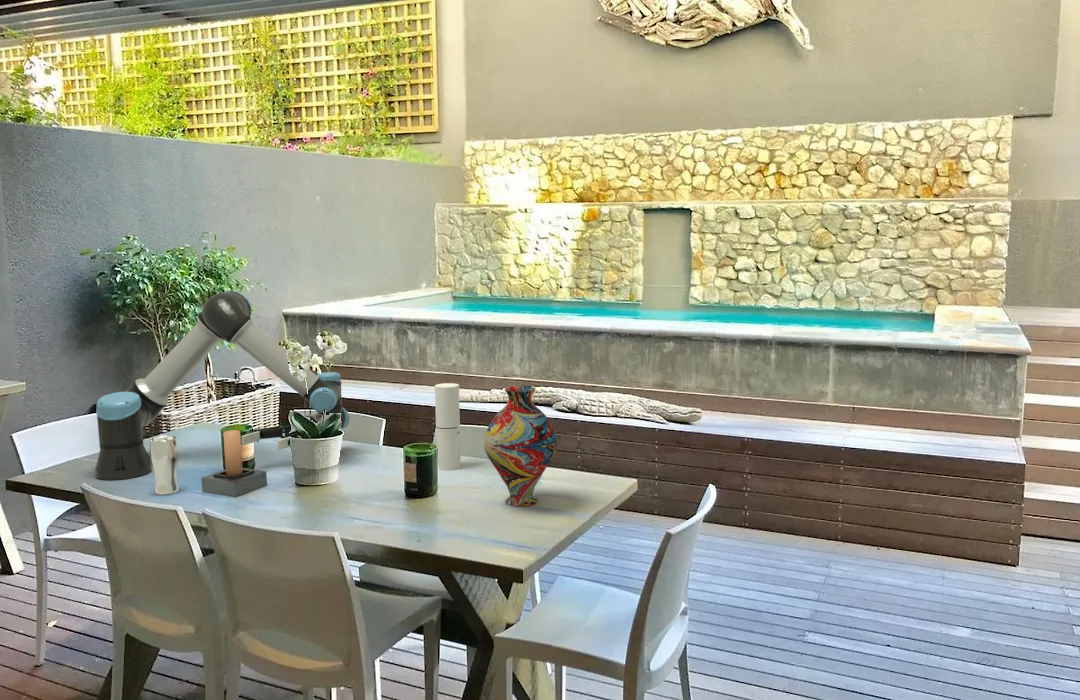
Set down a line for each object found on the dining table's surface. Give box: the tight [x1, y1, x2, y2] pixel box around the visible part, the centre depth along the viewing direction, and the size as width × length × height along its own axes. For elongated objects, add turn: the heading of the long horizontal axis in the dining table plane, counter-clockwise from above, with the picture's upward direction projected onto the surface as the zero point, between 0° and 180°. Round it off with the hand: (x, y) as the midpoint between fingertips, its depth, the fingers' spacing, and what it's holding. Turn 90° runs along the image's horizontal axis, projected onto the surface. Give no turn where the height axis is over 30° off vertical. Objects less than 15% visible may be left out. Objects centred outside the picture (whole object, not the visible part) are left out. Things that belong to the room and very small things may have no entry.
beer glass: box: [149, 435, 180, 496], centre depth 232 cm, size 7×7×15 cm
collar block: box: [201, 467, 268, 498], centre depth 235 cm, size 12×12×4 cm
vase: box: [483, 385, 558, 507], centre depth 220 cm, size 19×19×30 cm
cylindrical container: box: [434, 382, 462, 471], centre depth 254 cm, size 7×7×25 cm
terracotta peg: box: [223, 429, 243, 477], centre depth 234 cm, size 4×4×16 cm
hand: (260, 442), depth 243 cm, fingers open, 13 cm apart
